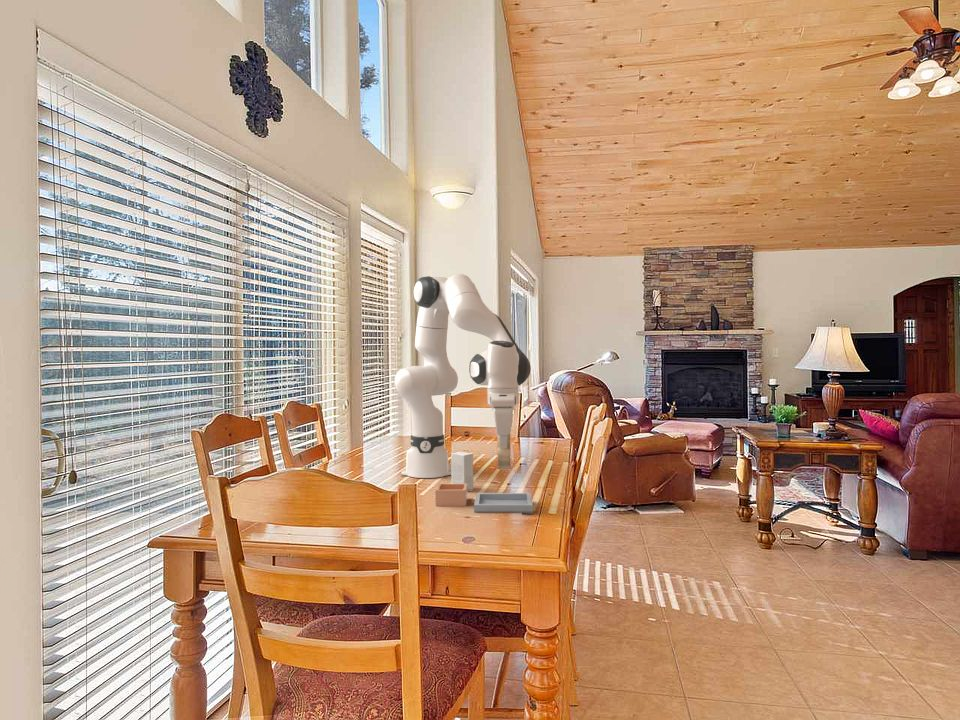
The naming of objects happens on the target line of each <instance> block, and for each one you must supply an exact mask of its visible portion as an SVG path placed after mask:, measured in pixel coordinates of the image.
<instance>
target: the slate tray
mask: <svg viewBox="0 0 960 720" xmlns="http://www.w3.org/2000/svg"><path fill="white" fill-rule="evenodd" d="M473 504H474V505H473V507H474V508H473V512H474V513H475V514H476V513H478V514H479V513H481V514H482V513H483V514H484V513H485V514H486V513H489V514H491V513H495V514H499V513H501V514H503V513H504V514H505V513H507V514H508V513H511V514H518V513H519V514H520V513H521V515H533V514H534V505H533V497H532V494H531V492H476V494H475V499H474V503H473Z"/></svg>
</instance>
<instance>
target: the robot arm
mask: <svg viewBox="0 0 960 720" xmlns="http://www.w3.org/2000/svg"><path fill="white" fill-rule="evenodd" d="M413 299H414V302H415V303H416V306H418V307H419V308H418V312H417V317H416V326H415V338H414V349H415V350H416V351H417V352H418V353H419V354H420V355H422V358H423V365H411V366H407V367H404V368H401V369H399V370H398V371H397V372H396V374H395V377H394V387H395V390H396V391H397V393H398V395H400V396H401V397H402V398H403V399H404V400H405V402H406V403H407V406H408V409H409V411H410V417H411V435H410V439H409V440H410V448H409V449H408V450H407V451H406V462H405V463H406V464H405V465H406V466H405V469H403V470H402V471H401V475H403V476H408V477H411V478H416V479H418V478H419V479H433V478H436V479H437V478H441V477H445V476H451V460H449V451H448V449H446V447H445V439H446V438H445V434H444V425H443V424H444V419H443V418H444V416H443V413H442V410H441V409H439V408H438V407H437V406H436V405H435V404H434V402H433V398H432V397H433V396H434V397H435V396H443V395H444V396H445V395H446V394H449V393H451V392H453V391H455V389H456V388H457V387H458V383H459V377H458V374H457V371H456V370H455V369H454V367H452V365H451V364H450V361H449V357H448V354H447V341H448V340H447V339H448V330H449V329H448V327H449V315H450V317H451V320H452V321H453V323H454V324H455V325H456V326H457V327H458V328H460V329H461V330H464V331H467V332H471V333H475V334H479V335H481V336H485V337H487V338H489V339H490V340H491V341H490V342H489V343H488V344H487V348H486V349H484V350H483V351H482V352H479V353H476V354H475V355H474V356H473V357H472V358H471V360H470V361H469V371H468V373H469V377H470V378H471V380H472V382H474V383H475V384H476V385H480V386H487V388H486V390H487V391H486V393H487V405H489V406H490V407H491V410H492V411H493V415H494V416H493V417H494V423H495V429H496V435H497V434H498V435H500V446H501V448H502V449H506V448H507V435H509V434H510V435H511V430H512V421H513V411H514V410H515V407H516V406H517V405H519V402H520V400H519V399H520V398H519V395H520V394H519V393H520V391H519V386H521V385H523V384H524V383H525V382H526V381H527V380H528V378H529V376H530V374H531V371H532V370H531V369H532V367H531V361H530V360H529V359H528V356H526V354H525V353H524V351H522V349H520V347H519V345H518V344H517V343H516V340H515V339H514V338H513V336H512V334H511V333H510V331H509V330H508V328H507V326H506V325H505V323H504V322H503V321H502V319H501V318H500V317H499V316H498V315H497V314H496V313H494V312H493V311H492V310H491V309H490V308H489V307H488V306H487V305H486V304H485V302H484V301H483V299H482V298H481V295H480V293H479V290H478V289H477V287H476V285H475V283H474V282H473V281H472V279H471V278H470V277H469V276H467V275H465V274H463V273H456V274H453V275H451V276H430V275H429V276H422V277H419V278H418V280H417V281H416V282H415V284H414V287H413Z"/></svg>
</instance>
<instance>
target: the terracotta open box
mask: <svg viewBox="0 0 960 720" xmlns="http://www.w3.org/2000/svg"><path fill="white" fill-rule="evenodd" d="M468 497H469V496H468V492H467V484H452V483H438V484H437V486H436V488H435V507H466V506H467V503H468Z"/></svg>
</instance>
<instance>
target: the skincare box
mask: <svg viewBox="0 0 960 720" xmlns="http://www.w3.org/2000/svg"><path fill="white" fill-rule="evenodd" d="M450 454H451V455H450V466H451V475H450V476H451V483H450V484H467V493H468V492H471V491H472V492H473V491H474V453H470V452H462V451H459V452H458V451H457V452H452V453H450Z"/></svg>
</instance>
